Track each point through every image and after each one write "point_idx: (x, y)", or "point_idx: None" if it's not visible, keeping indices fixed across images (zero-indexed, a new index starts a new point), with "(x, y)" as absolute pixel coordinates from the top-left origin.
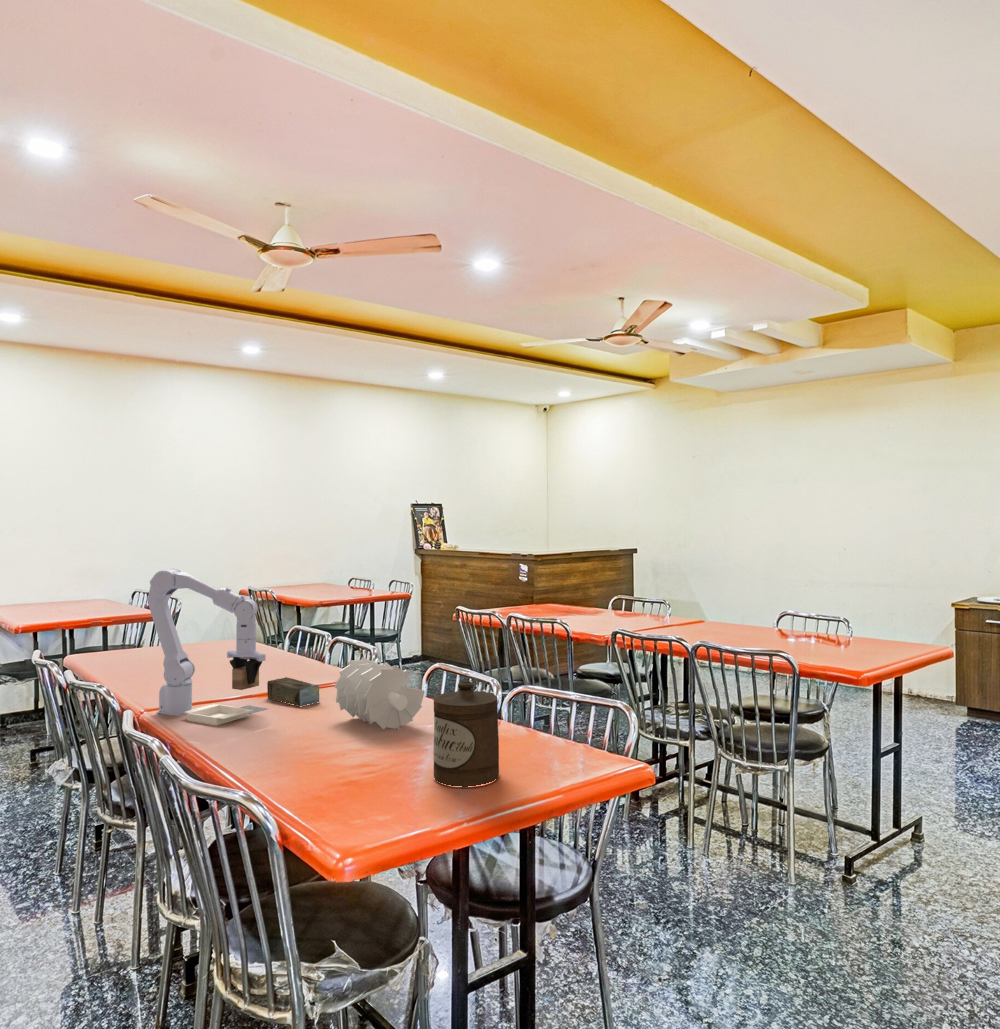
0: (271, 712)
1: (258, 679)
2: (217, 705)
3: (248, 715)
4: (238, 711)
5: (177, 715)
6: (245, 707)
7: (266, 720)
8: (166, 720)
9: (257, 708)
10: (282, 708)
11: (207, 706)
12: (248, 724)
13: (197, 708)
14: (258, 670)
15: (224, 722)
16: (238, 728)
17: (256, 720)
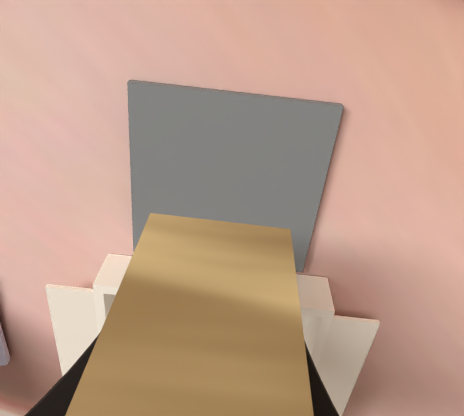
0: (400, 151)
1: (293, 280)
2: (99, 304)
3: (328, 284)
4: (313, 358)
5: (7, 363)
6: (163, 138)
7: (459, 292)
8: (25, 393)
9: (262, 131)
10: (427, 19)
11: (70, 331)
12: (403, 357)
13: (66, 367)
14: (306, 383)
15: None
16: (393, 401)
17: (404, 305)
